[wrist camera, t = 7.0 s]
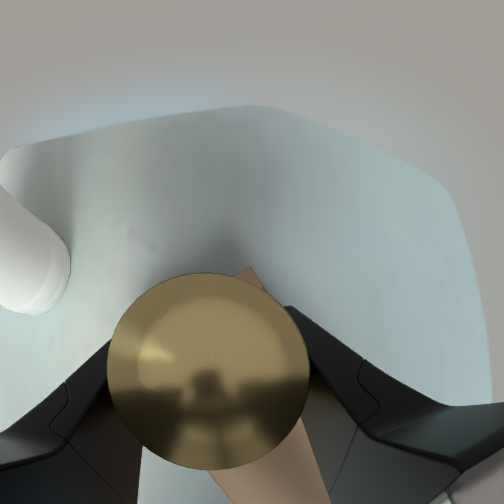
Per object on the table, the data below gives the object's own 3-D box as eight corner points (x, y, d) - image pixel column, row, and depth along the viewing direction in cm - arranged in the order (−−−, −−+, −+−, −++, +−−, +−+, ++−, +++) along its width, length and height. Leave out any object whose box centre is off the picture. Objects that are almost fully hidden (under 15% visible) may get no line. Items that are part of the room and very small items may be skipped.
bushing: (225, 421, 14) (202, 505, 5) (170, 363, 15) (70, 357, 5) (284, 368, 15) (352, 374, 6) (229, 311, 16) (211, 231, 7)
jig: (283, 540, 16) (290, 565, 12) (145, 340, 22) (126, 336, 18) (379, 483, 18) (401, 499, 14) (249, 282, 23) (250, 266, 20)
